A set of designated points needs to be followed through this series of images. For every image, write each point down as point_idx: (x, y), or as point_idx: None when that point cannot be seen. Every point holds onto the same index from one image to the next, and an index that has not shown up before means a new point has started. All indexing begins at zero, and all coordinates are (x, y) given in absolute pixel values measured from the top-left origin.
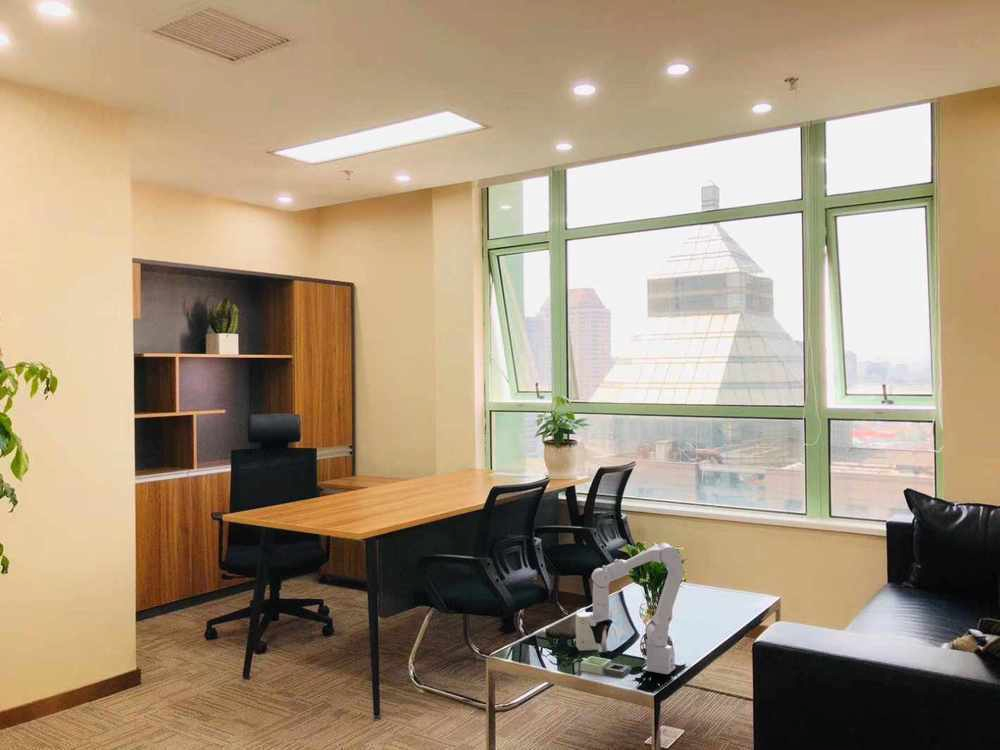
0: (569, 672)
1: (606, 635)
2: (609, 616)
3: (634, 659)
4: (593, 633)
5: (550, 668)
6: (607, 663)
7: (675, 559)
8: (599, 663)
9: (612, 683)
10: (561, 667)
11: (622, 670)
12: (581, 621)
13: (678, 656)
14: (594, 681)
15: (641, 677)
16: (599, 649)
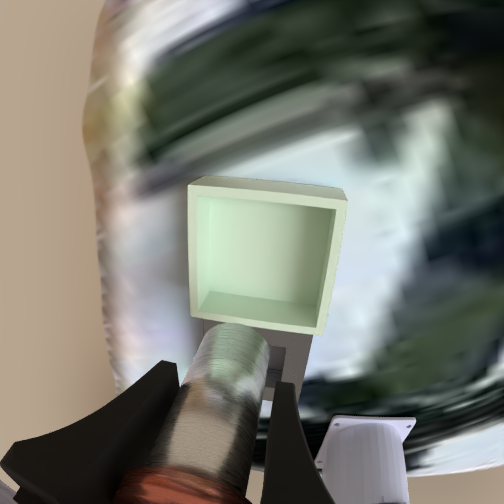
0: (148, 129)
1: (266, 455)
2: None
3: (469, 357)
4: (98, 412)
5: (161, 13)
6: (268, 324)
7: None
8: (326, 252)
9: (136, 348)
10: (203, 50)
11: None
12: None
13: (494, 437)
14: (111, 284)
15: None
16: (197, 350)
